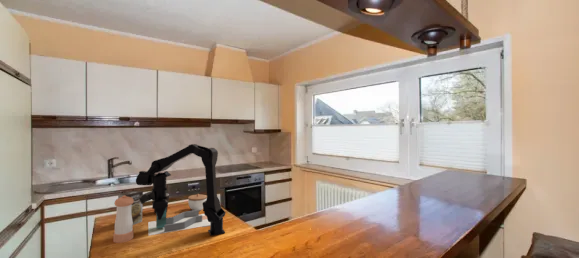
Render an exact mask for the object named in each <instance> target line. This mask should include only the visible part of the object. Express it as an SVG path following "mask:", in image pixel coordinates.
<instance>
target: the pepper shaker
mask: <svg viewBox="0 0 579 258" xmlns="http://www.w3.org/2000/svg"><path fill="white" fill-rule="evenodd" d="M133 202H134V200H133V198H132V197H127V196H126V195H124V196H122V197H120V198H117V199H116V200H114V206H115V207H116V212H115V213H116V215H115V216H116V217H115V221H114V232H113V233H112V234H113V240H112V241H113V243H118V244H121V243H126V242H129V241H132V240H133V239H134V229H133V227H134V225H133V221H132V214H131V210H132V205H131V204H133Z"/></svg>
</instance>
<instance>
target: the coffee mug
mask: <svg viewBox="0 0 579 258" xmlns="http://www.w3.org/2000/svg"><path fill="white" fill-rule="evenodd" d="M166 197H167V199H166V200H167V201H168V202H169V201H170V200H169V199H170V194H169V193H167V192H166ZM168 208H169V206H168V207H166V213H167V212H168ZM153 211H154V214H155V213H156V210H155V209H153Z"/></svg>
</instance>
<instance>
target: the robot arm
mask: <svg viewBox="0 0 579 258" xmlns="http://www.w3.org/2000/svg"><path fill="white" fill-rule="evenodd" d="M192 154H193V155H195V156H197V157H200V158H201V163H202V164H203V166H204V170H205V186H206V196H207V199H206V201H204V202H203V209H202V212H203V214H205V216H207V219H208V222H210V226H209V228H210V229H208V230H207V231H208V233H209V235H210V236H216V235H217V236H218V235H222V234H225V233H226V231H225V230H224V217H225V216H226V213H227V212H226V210H224V209H223V208H222V205H221V201H220V199H219V196H218V191H217V175H216V173H217V172H216V166H217V161H218V156H219V155H218V154H219V152H218V149H216V148H215V147H206V146H202V145H199V144H197V143H192V144H189V145H187V146H186V147H184V148H182V149H180V150H179V151H176V152H175V153H173V154H170V155H168V156H166V157H163V158H159V159H156V160H153V161H152V162H151V165H150V167H149V169H148V170H147V171H146V170H140V171H138V174H137V176H136V179H135V184H136V185H137V186H152V189H151V190H150V191H148V192H145V193H143V195H140V196H139V199H140V202H141V204H145V203H147V202H150V201H152V206H151V207H152V210H154V209H155V210H156V212H157V216H158V220H161V218H162V216H163V213H164V211H165V209H166V207H168V208H169V201H167V200H166V199H167V197H166V193H167V191H168V189H167V177H171V176H172V174H171V173H169V171H167V170H168V169H169V168H171V167H173V165H174V164H175V163H176V162H177V163H178V162H179V161H181V160H183V159H185V158H186V157H188V156H191V155H192Z"/></svg>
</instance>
